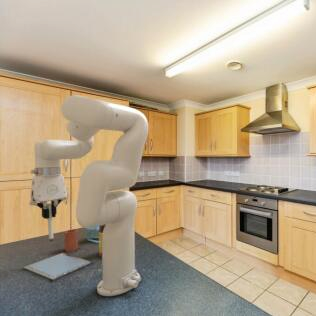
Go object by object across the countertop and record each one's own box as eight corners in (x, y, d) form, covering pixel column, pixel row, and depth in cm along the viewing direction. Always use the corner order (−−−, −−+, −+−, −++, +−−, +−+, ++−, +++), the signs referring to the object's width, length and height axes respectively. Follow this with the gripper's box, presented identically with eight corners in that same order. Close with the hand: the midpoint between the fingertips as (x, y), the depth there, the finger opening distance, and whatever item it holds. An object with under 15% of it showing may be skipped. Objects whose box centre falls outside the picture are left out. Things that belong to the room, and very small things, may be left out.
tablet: (91, 263, 85) (91, 261, 85) (52, 281, 73) (52, 278, 73) (62, 254, 93) (62, 252, 93) (23, 269, 81) (23, 266, 81)
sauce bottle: (107, 258, 89) (106, 211, 89) (95, 257, 90) (94, 211, 90) (119, 251, 95) (118, 207, 95) (107, 250, 97) (106, 207, 96)
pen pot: (80, 249, 98) (79, 230, 98) (68, 253, 94) (68, 233, 94) (74, 247, 100) (73, 228, 100) (62, 251, 95) (62, 232, 95)
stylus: (54, 240, 85) (51, 203, 85) (50, 241, 83) (47, 204, 84) (52, 240, 85) (49, 203, 86) (48, 241, 84) (45, 204, 84)
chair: (95, 237, 112) (95, 214, 112) (109, 237, 111) (109, 215, 111) (82, 243, 105) (82, 219, 105) (97, 243, 104) (97, 219, 103)
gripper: (27, 173, 76) (28, 224, 76) (75, 170, 90) (76, 213, 90) (17, 173, 79) (18, 222, 79) (65, 170, 93) (66, 212, 93)
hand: (49, 217), depth 85 cm, fingers closed on stylus, 1 cm apart
